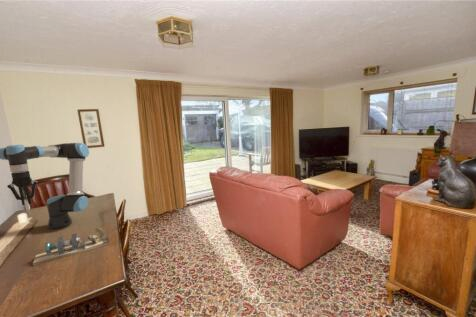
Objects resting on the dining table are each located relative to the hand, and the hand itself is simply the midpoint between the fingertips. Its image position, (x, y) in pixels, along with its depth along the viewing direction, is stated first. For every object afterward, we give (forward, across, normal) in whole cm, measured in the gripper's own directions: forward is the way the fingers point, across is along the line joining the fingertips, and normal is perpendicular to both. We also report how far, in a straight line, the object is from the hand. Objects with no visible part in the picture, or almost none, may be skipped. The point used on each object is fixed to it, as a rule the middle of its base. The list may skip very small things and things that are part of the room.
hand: (28, 209), depth 132 cm
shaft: (+24, +15, -17) cm, 33 cm away
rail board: (+27, +19, -17) cm, 37 cm away
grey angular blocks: (+27, +25, -17) cm, 40 cm away
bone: (+25, +31, -17) cm, 43 cm away
